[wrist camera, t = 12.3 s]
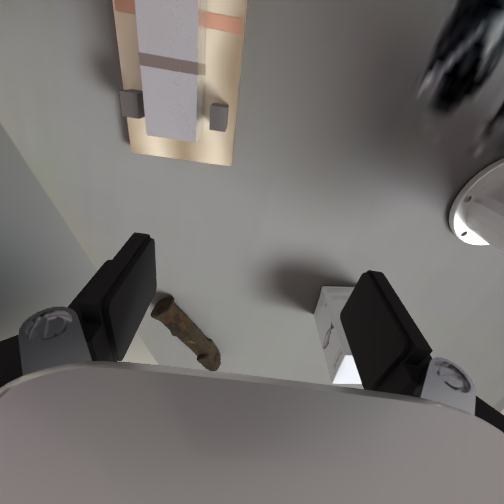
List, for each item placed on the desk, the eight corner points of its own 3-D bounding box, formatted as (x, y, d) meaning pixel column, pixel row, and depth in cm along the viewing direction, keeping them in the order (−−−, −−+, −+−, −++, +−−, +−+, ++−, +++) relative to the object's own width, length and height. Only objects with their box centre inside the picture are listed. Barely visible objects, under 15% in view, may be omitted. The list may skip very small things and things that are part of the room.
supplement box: (321, 284, 41) (345, 354, 31) (364, 286, 42) (403, 355, 31) (311, 314, 46) (330, 384, 35) (351, 316, 46) (382, 385, 36)
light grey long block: (212, -165, 16) (203, -235, 13) (203, 133, 27) (196, 142, 23) (141, -184, 16) (110, -262, 12) (160, 126, 26) (145, 135, 22)
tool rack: (268, -214, 16) (274, -299, 13) (231, 162, 30) (229, 174, 26) (89, -266, 15) (39, -375, 12) (136, 148, 29) (119, 159, 25)
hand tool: (154, 299, 43) (145, 321, 39) (174, 292, 42) (166, 314, 39) (208, 357, 53) (205, 378, 50) (225, 352, 52) (223, 374, 49)
